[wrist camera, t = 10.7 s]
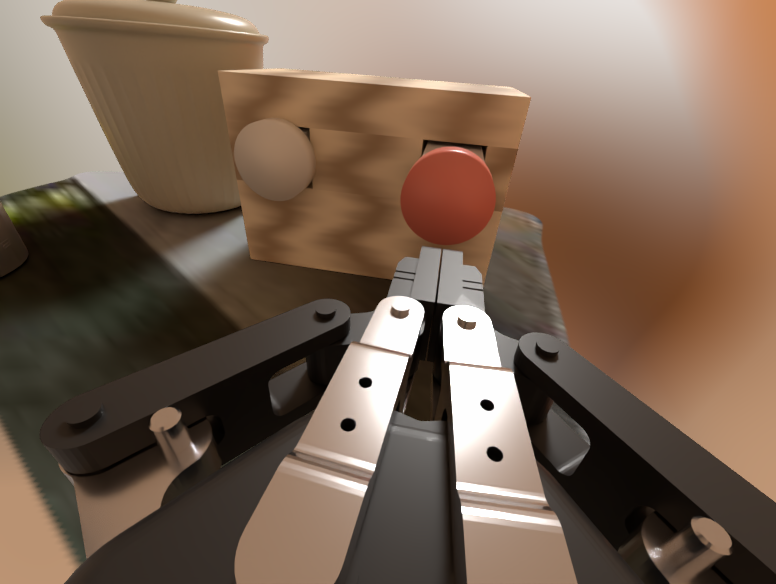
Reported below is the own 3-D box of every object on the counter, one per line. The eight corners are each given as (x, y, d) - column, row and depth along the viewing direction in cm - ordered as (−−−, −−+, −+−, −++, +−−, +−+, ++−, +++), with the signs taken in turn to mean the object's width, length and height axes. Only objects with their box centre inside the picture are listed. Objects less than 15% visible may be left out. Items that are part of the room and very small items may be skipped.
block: (250, 258, 31) (217, 70, 23) (295, 217, 39) (282, 68, 31) (481, 292, 29) (531, 97, 21) (477, 241, 37) (511, 87, 29)
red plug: (396, 239, 21) (404, 147, 18) (413, 194, 28) (420, 123, 25) (484, 250, 21) (506, 158, 18) (478, 202, 28) (494, 130, 25)
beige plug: (241, 196, 25) (227, 117, 23) (289, 167, 33) (283, 103, 30) (309, 205, 25) (304, 125, 22) (343, 173, 32) (343, 109, 29)
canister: (252, 237, 34) (202, -62, 23) (70, 221, 35) (-71, -82, 23) (301, 182, 49) (287, -14, 38) (174, 172, 50) (121, -26, 38)
